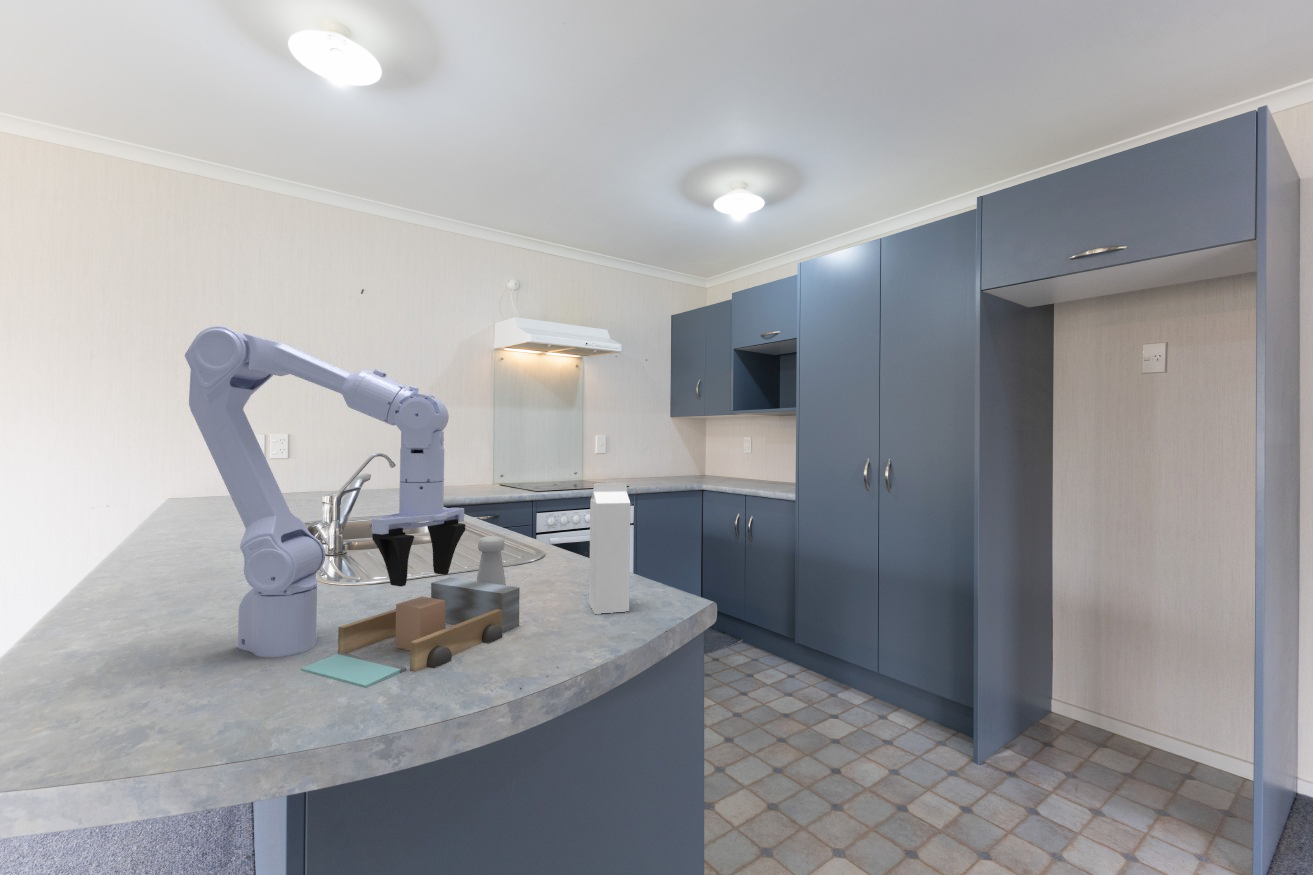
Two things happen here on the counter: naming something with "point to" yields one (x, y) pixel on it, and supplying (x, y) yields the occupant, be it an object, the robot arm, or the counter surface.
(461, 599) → the flatbed
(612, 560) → the milk
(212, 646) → the counter surface
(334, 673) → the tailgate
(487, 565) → the salt shaker
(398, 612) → the tan rectangular block
